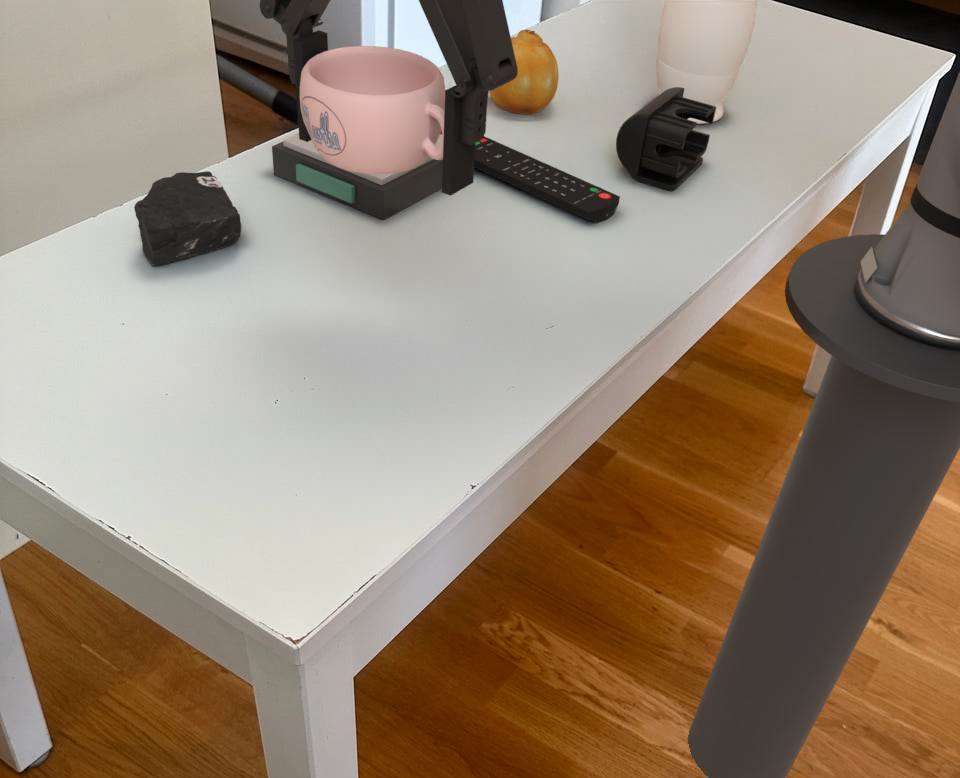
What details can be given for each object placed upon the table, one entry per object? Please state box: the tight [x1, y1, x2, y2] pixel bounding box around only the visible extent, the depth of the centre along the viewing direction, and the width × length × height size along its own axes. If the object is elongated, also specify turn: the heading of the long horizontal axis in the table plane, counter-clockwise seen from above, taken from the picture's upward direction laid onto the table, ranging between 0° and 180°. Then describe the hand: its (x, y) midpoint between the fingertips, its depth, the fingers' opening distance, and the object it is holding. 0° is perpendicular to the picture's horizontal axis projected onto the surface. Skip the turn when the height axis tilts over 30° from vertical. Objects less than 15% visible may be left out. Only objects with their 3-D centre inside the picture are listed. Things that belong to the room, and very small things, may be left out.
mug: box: [300, 45, 446, 174], centre depth 70 cm, size 12×10×6 cm
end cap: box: [615, 87, 716, 192], centre depth 107 cm, size 10×7×7 cm
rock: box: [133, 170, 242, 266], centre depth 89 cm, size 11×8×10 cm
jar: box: [656, 0, 758, 125], centre depth 116 cm, size 11×10×15 cm
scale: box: [271, 132, 443, 221], centre depth 102 cm, size 14×14×3 cm
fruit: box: [488, 29, 559, 115], centre depth 116 cm, size 8×8×8 cm
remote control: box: [440, 130, 621, 223], centre depth 105 cm, size 5×24×1 cm, turn 48°
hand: (384, 160), depth 72 cm, fingers closed on mug, 12 cm apart
